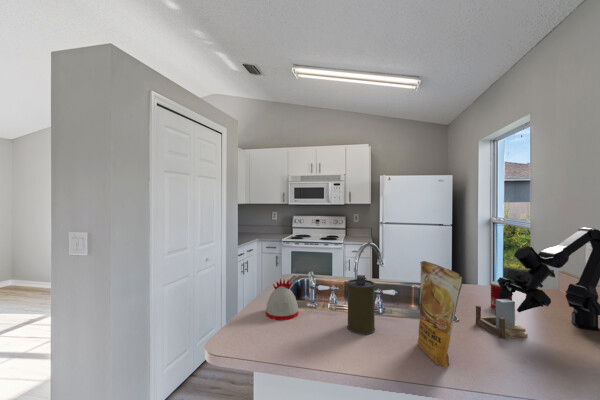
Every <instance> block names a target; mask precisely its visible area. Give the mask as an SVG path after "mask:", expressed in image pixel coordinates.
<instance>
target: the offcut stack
mask: <svg viewBox="0 0 600 400" xmlns="http://www.w3.org/2000/svg"><path fill="white" fill-rule="evenodd" d="M528 335H529V334H527V333H526V328H525V327H523V326H521V325H515V326H506V329H505V337H506V338H508V339H515V338H516V339H518V338H528Z"/></svg>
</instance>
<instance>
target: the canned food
mask: <svg viewBox="0 0 600 400" xmlns="http://www.w3.org/2000/svg"><path fill="white" fill-rule="evenodd" d="M500 289H501V288H500V285H499V284H498V282H497V280H496V281H495V280H493V281H491V282H490V305H491V307H492V308H493V309H494V310H496V299H498V296H499V293H500ZM507 299H509V300H512V301H513V295H512V296H510V297H509V298H507Z"/></svg>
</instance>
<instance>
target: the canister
mask: <svg viewBox="0 0 600 400" xmlns="http://www.w3.org/2000/svg"><path fill="white" fill-rule="evenodd" d="M346 283H347V325H346V328H347V330H348V331H350V332H351V333H353V334H357V335H361V336H362V335H363V336H364V335H366V336H367V335H371V334H373V333H374V332H376V327H375V316H376V315H375V310H376V309H375V297H376V296H375V295H376V294H375V289H376V288H375V286H376V282H374V281H371V280H368V279H367V278H366V275H365V274H364V275H362V274H357V275H356V278H355V279H349V280H348V281H347V282H346Z"/></svg>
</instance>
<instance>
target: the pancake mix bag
mask: <svg viewBox="0 0 600 400" xmlns="http://www.w3.org/2000/svg"><path fill="white" fill-rule="evenodd" d="M462 286H463V277H462V275H461V274H460V273H458V272H457V271H454V270H451V269H449V268H445V267H443V266H441V265H438V264H436V263H432V262H430V261H426V260H423V261H420V284H419V287H420V288H419V302H418V303H419V322H418V323H419V325H418V339H417V346H418V348H419V349H420V350H421V351H422V352H423V353H424V354H425V355H426V356H427V357H429V358H430V360H431V361H432V362H433V363H434V364H435V365H437V366H439V367H444V368H445V369H447V370H448V369H449V367H450V361H449V359H450V358H449V355H448V354H449V353H448V352H449V347H450V343H451V335H452V331H453V325H454V321H455V320H454V319H455V315H456V313H457V307H458V302H459V297H460V293H461V290H462Z"/></svg>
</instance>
